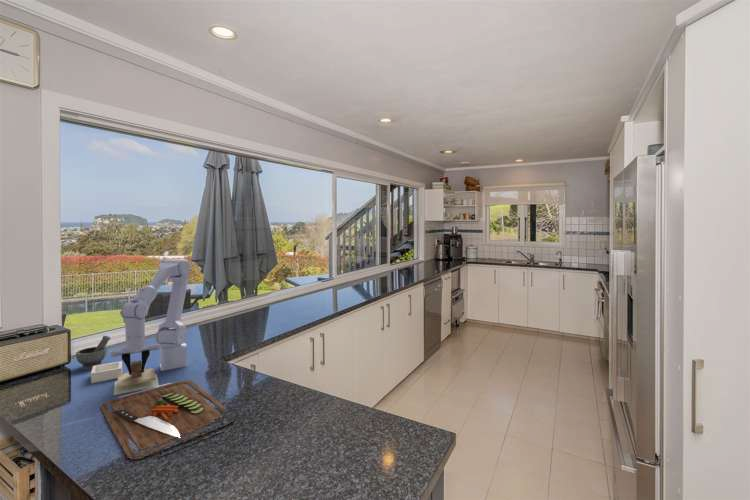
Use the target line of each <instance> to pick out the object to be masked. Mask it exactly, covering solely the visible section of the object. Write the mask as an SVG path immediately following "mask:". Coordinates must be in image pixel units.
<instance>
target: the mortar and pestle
mask: <svg viewBox="0 0 750 500" xmlns="http://www.w3.org/2000/svg"><path fill="white" fill-rule="evenodd" d="M110 340H111V337H110V336H108V335H103V336H102V339H101V340H100V342H99V343H98V345H97V346H93V347H87V348H82V349H79V350H78V351H76V352H75V357H76V361H77V362H78V363H79V364H81V365H82V366H81V367H82V370H85V371H87V370H92V368H93V366H95V365H101V364H103V363H102V361H103V360H104V359H105V358H106V356H107V354H108V353H107V352H108V347H106V346H107V344H108V343H109V341H110Z"/></svg>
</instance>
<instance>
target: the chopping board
mask: <svg viewBox="0 0 750 500" xmlns="http://www.w3.org/2000/svg"><path fill="white" fill-rule="evenodd" d="M193 389H194V390H195V391H194V390H193ZM201 396H202V397H203V398H205V399H207V400H209V401H210V402H211V403H213V404H214V405H215V406H217V407H219V408H220V409H221V410H223V411H225V409H228V408H227V407H226V406H224V405H223V404H222V403H220V402H219V401H218V400H217V399H215V398H214V397H213V396H212V395H210V394H209V393H208V392H207V391H206V390H204V389H203V388H202V387H201V386H199V385H197V384H196V383H195V382H194V381H193V380H181V381H177V382H169V383H165V384H162V385H161V384H160V385H159V386H156V387H151V388H146V389H141V390H137V391H133V392H132V393H131V392H130V393H127V394H125V395H120V396H117V398H115V399H112V400H109V401H105V402H104V403H103V404H101V405H100V409H101V411H102V414H103V417H104V418H105V421H106V423H107V424H108V426H109V427H110V429H111V432H112V433H113V435H114V436H116V437H115V438H117V439H116V440H117V442H118V444H119V443H120V444H119V445H121V446H122V448H123V449H122V448H121V449H122V451H123V450H124V451H123V453H124V452H125V453H124V455H125V454H126V455H127V456H128V457H132V458H135V457H140V456H143V455H146V454H149V453H151V452H154V451H156V450H158V449H162V448H164V447H166V446H168V445H170V444H171V443H174V442H176V441H172V442H169V443H167V444H164V445H161V446H159V447H156V448H153V449H151V450H148V451H146V452H142V453H134V452H133V450H132V449H131V447H130V445H129V441H128V439H130V440H131V441H132V442H133V443H134V444H135V445H136V446H137V448H138V449H139V450H140V451H141V450H144V449H146V448H149V447H152V446H155V445H157V444H160V443H163V442H165V441H168V440H171V439H173V438H175V437H178V438H181V437H180V436H181V435H184V434H187V433H189V432H192V431H194V430H196V429H198V428H201V427H202V426H203V425H207V424H210V423H208V422H207V421H209V422H215V420H214V419H218V416H220V415H221V414H220V413H219V412H218V411H217V410H216V409H214V408H213V407H212V406H211V405H210V404H208V403H207V402H206V401H205V400H204V399H203V398H202V397H201ZM109 405H110V407H111V408H112V411H113V412H111V411H110V410H109V408H108V406H109ZM198 432H199V431H198ZM200 433H201V432H200ZM197 434H198V433H197V432H196V433H193V434H190V435H188V436H185V437H182V438H181V439H182V440H184V439H185V438H186V439H187V438H190V437H193V436H195V435H197ZM121 446H120V447H121ZM126 455H125V456H126Z"/></svg>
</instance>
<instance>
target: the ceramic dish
mask: <svg viewBox="0 0 750 500" xmlns="http://www.w3.org/2000/svg"><path fill="white" fill-rule="evenodd" d="M118 374H123V360H121V361H115V362H110V363H109V362H108V363H102V364H101V365H95V366H93V368H92V369H91V372H90V383H91V384H96V383H102V382H105V381H107V382H108V381H111V380H118Z"/></svg>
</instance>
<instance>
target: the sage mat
mask: <svg viewBox="0 0 750 500" xmlns="http://www.w3.org/2000/svg"><path fill="white" fill-rule="evenodd" d="M155 379H156V380H152V381H147V382H142V383H137V384H132V385H127V386H121V387H117V383H118V380H115V381H114V387H113V396H117V395H122V394H126V393H127V394H128V393H131V392H132V393H133V392H138V391H142V390H146V389H149V388H153V387H157V386H160V385H159V379H158V374H157V373H155Z"/></svg>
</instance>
